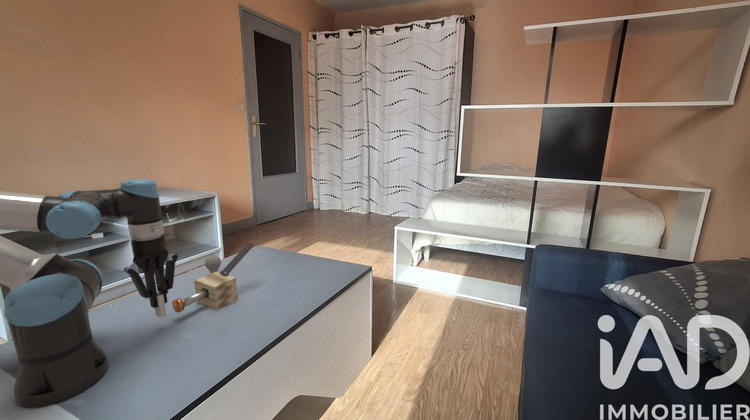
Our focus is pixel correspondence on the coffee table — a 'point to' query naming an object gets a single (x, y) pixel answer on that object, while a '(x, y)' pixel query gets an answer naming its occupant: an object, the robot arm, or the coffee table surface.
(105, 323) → the coffee table surface
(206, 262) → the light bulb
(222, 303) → the block
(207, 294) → the pin
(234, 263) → the bar
